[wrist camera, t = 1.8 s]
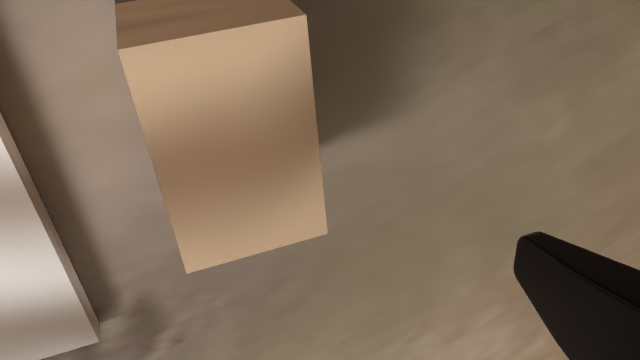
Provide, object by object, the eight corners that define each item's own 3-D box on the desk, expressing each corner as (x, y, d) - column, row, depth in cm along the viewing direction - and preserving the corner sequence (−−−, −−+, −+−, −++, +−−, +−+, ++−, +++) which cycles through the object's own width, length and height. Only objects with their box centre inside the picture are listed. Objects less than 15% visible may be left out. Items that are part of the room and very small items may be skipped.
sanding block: (285, 158, 21) (327, 233, 17) (170, 187, 20) (186, 273, 16) (259, -27, 17) (306, 14, 13) (114, -3, 16) (117, 49, 12)
